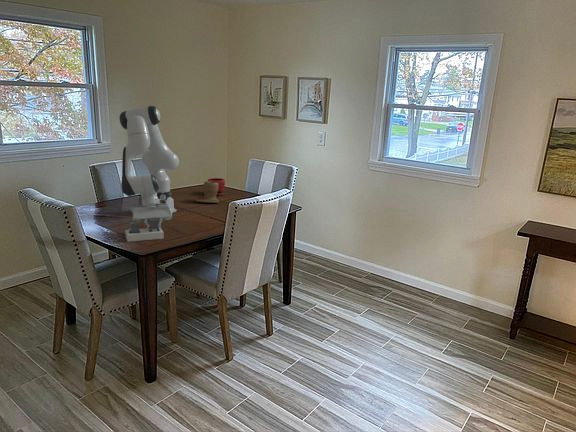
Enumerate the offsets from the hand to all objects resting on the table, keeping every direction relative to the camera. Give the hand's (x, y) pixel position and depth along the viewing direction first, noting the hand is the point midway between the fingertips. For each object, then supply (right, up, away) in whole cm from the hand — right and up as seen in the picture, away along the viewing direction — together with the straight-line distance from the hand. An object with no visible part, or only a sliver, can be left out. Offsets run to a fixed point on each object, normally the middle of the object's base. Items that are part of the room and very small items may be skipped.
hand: (154, 227), depth 228 cm
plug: (-1, -5, +2) cm, 5 cm away
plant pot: (+16, +22, +102) cm, 106 cm away
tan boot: (+14, +16, +79) cm, 82 cm away
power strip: (-7, -4, +4) cm, 9 cm away
